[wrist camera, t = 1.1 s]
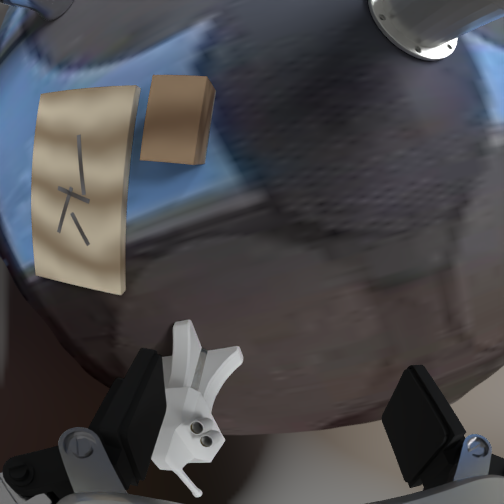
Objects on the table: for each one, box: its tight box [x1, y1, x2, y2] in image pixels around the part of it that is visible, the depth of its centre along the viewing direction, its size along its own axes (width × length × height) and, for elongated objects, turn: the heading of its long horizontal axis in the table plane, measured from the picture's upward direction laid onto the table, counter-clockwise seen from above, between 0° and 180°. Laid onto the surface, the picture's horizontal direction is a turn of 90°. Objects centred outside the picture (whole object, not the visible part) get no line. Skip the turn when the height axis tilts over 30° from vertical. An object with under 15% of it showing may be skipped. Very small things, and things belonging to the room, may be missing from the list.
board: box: [31, 85, 141, 295], centre depth 30 cm, size 24×14×2 cm, turn 172°
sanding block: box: [140, 75, 216, 165], centre depth 26 cm, size 8×5×6 cm, turn 172°
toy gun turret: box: [151, 320, 243, 497], centre depth 29 cm, size 12×13×18 cm
